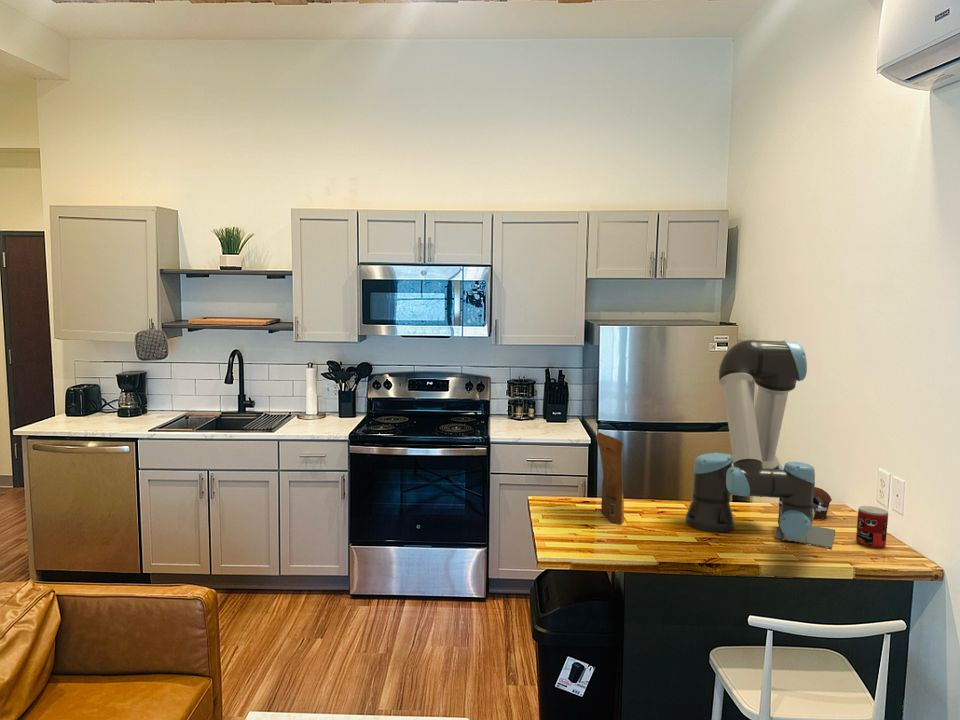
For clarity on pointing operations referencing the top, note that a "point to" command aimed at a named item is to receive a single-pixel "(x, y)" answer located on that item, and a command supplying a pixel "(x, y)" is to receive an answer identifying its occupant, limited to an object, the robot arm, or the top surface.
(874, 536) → the canned food
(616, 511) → the pancake mix bag
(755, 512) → the top surface
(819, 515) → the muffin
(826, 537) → the mat
